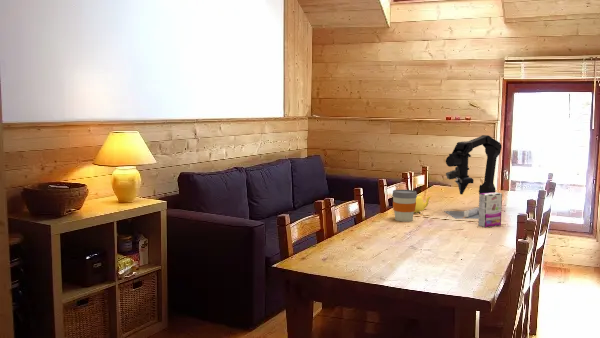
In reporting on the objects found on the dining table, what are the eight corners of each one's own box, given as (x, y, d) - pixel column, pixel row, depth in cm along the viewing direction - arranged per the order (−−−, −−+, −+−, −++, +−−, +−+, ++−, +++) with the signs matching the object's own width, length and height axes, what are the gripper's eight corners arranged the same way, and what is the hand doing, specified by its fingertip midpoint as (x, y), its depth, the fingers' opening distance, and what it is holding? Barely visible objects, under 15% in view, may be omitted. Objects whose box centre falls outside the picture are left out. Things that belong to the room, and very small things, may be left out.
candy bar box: (493, 223, 294) (495, 191, 292) (501, 225, 289) (503, 193, 287) (477, 225, 289) (478, 193, 287) (484, 227, 284) (486, 194, 282)
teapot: (431, 212, 321) (432, 195, 320) (413, 214, 314) (414, 196, 313) (414, 208, 333) (415, 191, 332) (396, 210, 326) (397, 193, 325)
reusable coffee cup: (400, 216, 309) (401, 188, 308) (420, 220, 300) (421, 191, 299) (386, 219, 301) (387, 191, 299) (406, 223, 292) (407, 194, 290)
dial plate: (479, 213, 319) (479, 211, 319) (493, 221, 299) (493, 218, 299) (443, 213, 318) (443, 211, 318) (455, 221, 298) (455, 218, 298)
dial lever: (475, 211, 316) (475, 206, 316) (484, 212, 313) (484, 207, 313) (461, 216, 302) (461, 210, 302) (470, 217, 299) (470, 212, 299)
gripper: (442, 163, 319) (441, 191, 320) (453, 167, 300) (452, 197, 302) (462, 163, 319) (461, 191, 321) (474, 167, 301) (473, 197, 303)
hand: (461, 194), depth 312 cm, fingers closed
